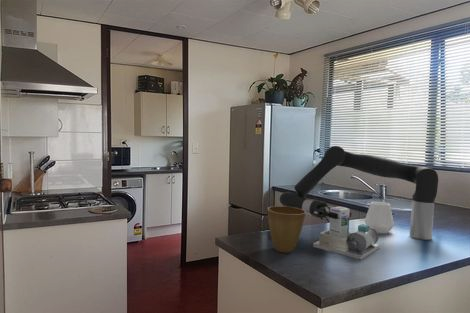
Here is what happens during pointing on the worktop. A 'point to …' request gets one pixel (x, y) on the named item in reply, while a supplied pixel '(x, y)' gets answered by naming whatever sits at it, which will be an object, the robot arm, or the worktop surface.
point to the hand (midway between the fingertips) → (344, 215)
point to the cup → (380, 217)
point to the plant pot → (285, 226)
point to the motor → (350, 242)
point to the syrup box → (340, 222)
